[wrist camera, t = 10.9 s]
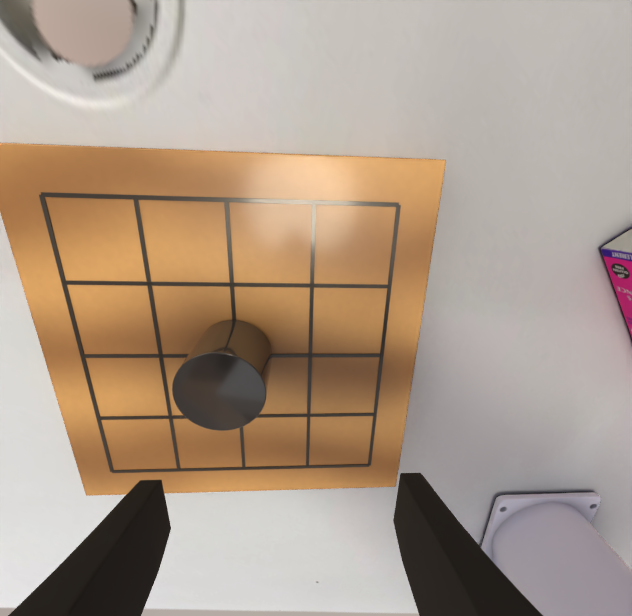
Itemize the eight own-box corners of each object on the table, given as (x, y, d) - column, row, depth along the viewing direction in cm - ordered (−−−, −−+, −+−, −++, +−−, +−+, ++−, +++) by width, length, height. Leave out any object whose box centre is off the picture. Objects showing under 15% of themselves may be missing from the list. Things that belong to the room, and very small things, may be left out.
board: (391, 474, 22) (396, 488, 21) (95, 482, 21) (84, 497, 20) (437, 161, 15) (447, 159, 14) (-1, 145, 14) (-25, 141, 13)
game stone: (273, 385, 18) (267, 430, 14) (200, 385, 17) (177, 431, 14) (271, 319, 16) (264, 352, 13) (193, 319, 16) (165, 352, 13)
